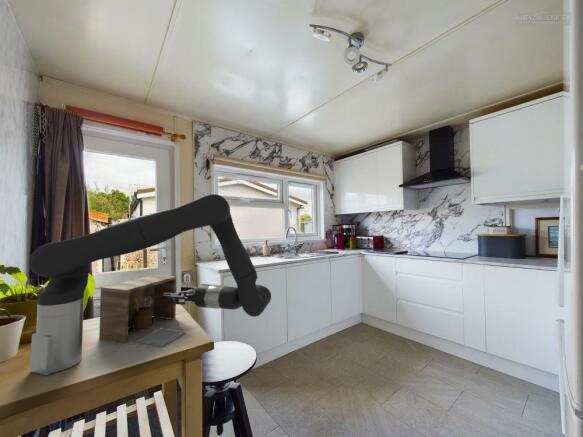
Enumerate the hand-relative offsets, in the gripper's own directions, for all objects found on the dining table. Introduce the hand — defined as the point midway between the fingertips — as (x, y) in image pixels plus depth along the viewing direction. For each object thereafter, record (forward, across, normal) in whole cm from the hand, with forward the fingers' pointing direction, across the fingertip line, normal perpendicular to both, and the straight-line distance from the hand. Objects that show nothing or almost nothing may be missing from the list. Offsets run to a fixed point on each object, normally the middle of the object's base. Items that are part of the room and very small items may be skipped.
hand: (172, 292), depth 87 cm
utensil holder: (+13, 0, +14) cm, 19 cm away
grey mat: (0, +4, +14) cm, 15 cm away
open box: (+14, 0, +14) cm, 20 cm away
